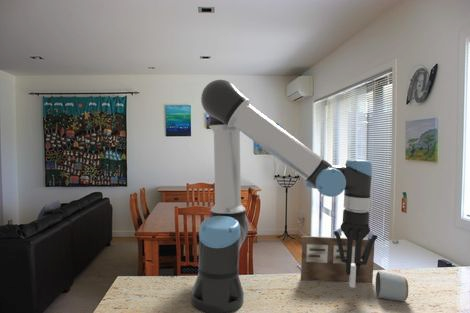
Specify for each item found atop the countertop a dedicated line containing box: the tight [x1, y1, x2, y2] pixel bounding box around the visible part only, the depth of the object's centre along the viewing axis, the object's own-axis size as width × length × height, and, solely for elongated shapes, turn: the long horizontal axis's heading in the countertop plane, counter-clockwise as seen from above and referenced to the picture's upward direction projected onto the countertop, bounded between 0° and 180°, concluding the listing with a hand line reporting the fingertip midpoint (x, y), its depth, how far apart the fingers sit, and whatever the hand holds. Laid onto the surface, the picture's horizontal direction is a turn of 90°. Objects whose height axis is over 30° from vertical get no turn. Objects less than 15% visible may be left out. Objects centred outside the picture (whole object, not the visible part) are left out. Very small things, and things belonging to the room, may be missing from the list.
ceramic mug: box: [375, 271, 409, 302], centre depth 98 cm, size 11×8×8 cm
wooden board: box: [300, 235, 376, 285], centre depth 107 cm, size 24×1×15 cm, turn 88°
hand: (351, 285), depth 98 cm, fingers closed
